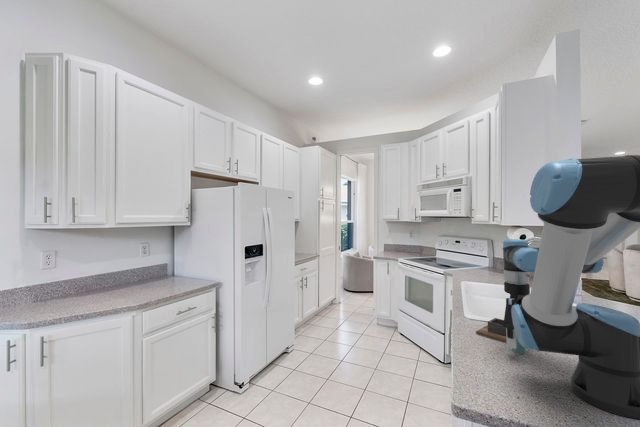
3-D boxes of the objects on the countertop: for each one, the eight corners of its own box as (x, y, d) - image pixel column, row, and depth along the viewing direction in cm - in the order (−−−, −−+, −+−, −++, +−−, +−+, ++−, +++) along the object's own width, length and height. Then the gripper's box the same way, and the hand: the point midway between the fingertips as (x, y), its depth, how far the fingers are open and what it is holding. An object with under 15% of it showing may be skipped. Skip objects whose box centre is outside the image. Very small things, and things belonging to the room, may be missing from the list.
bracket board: (509, 344, 104) (509, 330, 104) (476, 334, 113) (475, 321, 114) (522, 334, 112) (521, 321, 113) (490, 326, 122) (489, 314, 122)
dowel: (523, 354, 95) (522, 314, 96) (510, 350, 99) (508, 311, 99) (527, 351, 98) (525, 311, 98) (514, 347, 101) (512, 309, 102)
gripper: (516, 289, 89) (518, 356, 88) (539, 279, 104) (541, 336, 103) (490, 285, 94) (492, 348, 94) (516, 276, 110) (518, 330, 109)
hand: (518, 342), depth 98 cm, fingers open, 13 cm apart
